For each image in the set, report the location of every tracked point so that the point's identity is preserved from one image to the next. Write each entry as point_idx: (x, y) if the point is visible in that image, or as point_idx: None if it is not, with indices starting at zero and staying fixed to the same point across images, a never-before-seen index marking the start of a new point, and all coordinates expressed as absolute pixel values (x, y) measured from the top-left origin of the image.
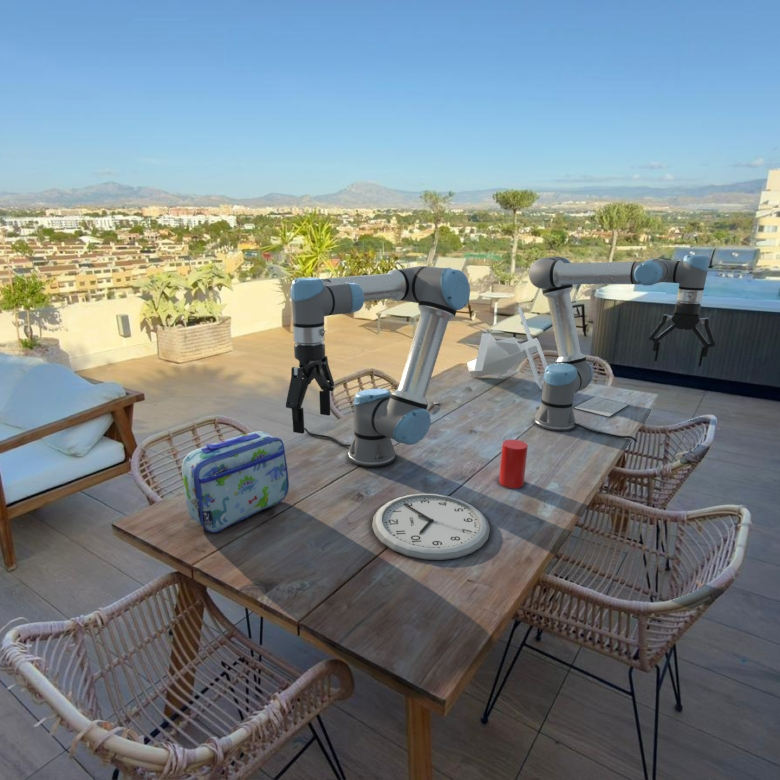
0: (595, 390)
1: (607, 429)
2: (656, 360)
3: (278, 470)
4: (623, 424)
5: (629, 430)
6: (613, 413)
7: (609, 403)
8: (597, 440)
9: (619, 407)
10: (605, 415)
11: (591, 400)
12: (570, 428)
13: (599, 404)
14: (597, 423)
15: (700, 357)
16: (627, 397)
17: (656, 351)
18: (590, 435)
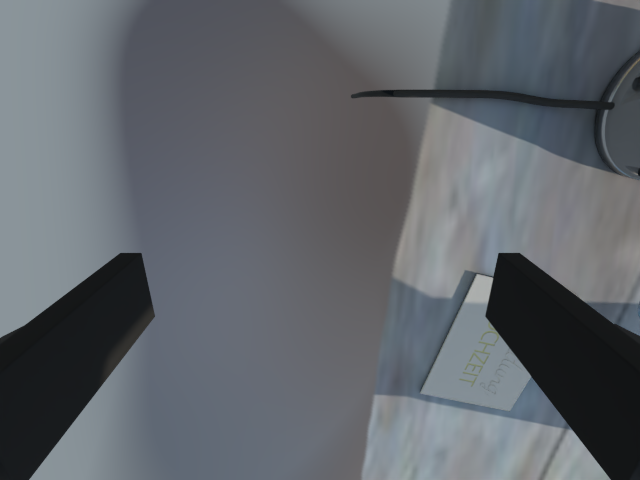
0: (502, 462)
1: (484, 159)
2: (505, 255)
3: None
4: (434, 233)
5: (417, 188)
6: (462, 305)
7: (470, 379)
8: (525, 21)
9: (444, 361)
10: (487, 276)
11: (520, 380)
12: (621, 73)
13: (499, 359)
14: (513, 199)
15: (82, 300)
16: (420, 447)
17: (583, 306)
18: (545, 63)
